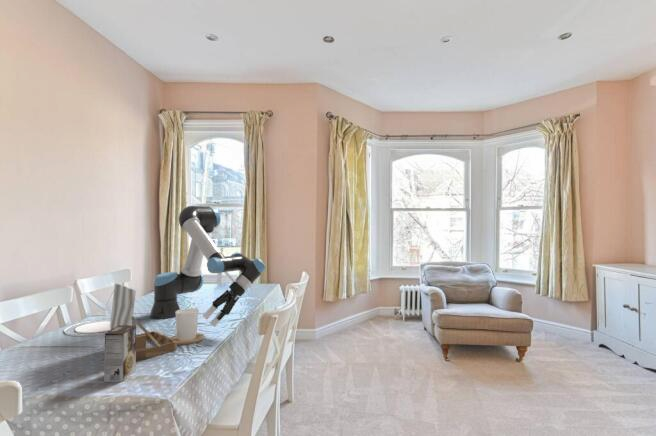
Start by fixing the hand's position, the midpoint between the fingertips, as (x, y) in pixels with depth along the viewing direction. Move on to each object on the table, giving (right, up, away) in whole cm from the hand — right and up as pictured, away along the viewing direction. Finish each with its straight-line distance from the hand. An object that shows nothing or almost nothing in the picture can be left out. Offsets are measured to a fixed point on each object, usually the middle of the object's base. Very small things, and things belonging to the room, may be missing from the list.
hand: (208, 321), depth 161 cm
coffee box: (-15, -6, -42) cm, 46 cm away
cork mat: (-8, -7, -5) cm, 11 cm away
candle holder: (-8, -6, -5) cm, 11 cm away
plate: (-58, -7, +11) cm, 59 cm away
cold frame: (-21, -6, -18) cm, 28 cm away
